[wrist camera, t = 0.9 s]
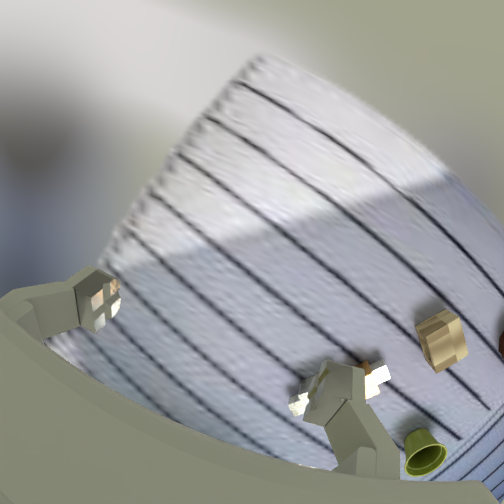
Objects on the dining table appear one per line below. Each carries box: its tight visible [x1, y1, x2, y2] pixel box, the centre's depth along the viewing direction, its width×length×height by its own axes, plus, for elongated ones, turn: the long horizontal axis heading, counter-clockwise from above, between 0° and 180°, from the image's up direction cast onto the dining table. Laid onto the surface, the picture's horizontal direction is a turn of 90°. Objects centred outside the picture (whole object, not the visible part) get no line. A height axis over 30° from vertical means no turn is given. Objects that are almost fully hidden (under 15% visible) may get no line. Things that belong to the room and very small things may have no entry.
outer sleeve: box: [298, 375, 315, 425], centre depth 50 cm, size 7×8×6 cm
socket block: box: [415, 309, 468, 373], centre depth 45 cm, size 8×7×6 cm
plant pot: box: [404, 429, 447, 477], centre depth 45 cm, size 9×9×9 cm
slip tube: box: [288, 359, 390, 417], centre depth 49 cm, size 4×19×6 cm, turn 116°
